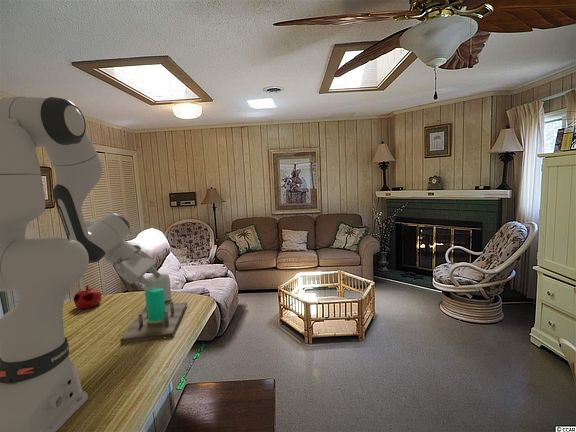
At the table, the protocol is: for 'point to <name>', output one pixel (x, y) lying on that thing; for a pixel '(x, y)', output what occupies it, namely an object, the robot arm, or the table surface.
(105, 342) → the table surface
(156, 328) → the candle stand
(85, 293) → the pomegranate
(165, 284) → the photo printer
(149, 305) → the candle
